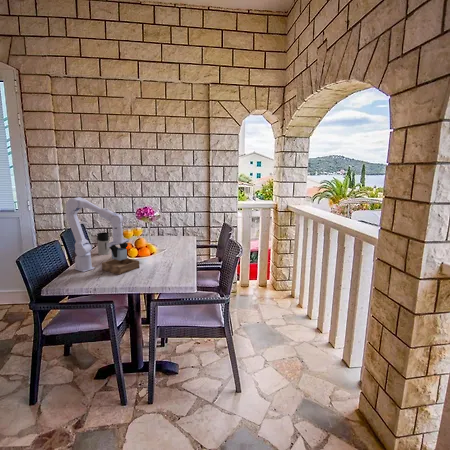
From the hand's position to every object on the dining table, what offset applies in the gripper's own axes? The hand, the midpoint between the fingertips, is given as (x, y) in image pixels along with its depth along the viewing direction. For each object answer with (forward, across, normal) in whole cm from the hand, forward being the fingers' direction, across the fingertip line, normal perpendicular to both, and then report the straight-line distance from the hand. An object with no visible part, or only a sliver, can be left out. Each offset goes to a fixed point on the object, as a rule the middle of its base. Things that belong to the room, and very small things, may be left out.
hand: (119, 256), depth 179 cm
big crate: (+8, +1, 0) cm, 8 cm away
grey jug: (+9, +19, +37) cm, 42 cm away
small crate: (+2, 0, 0) cm, 2 cm away
